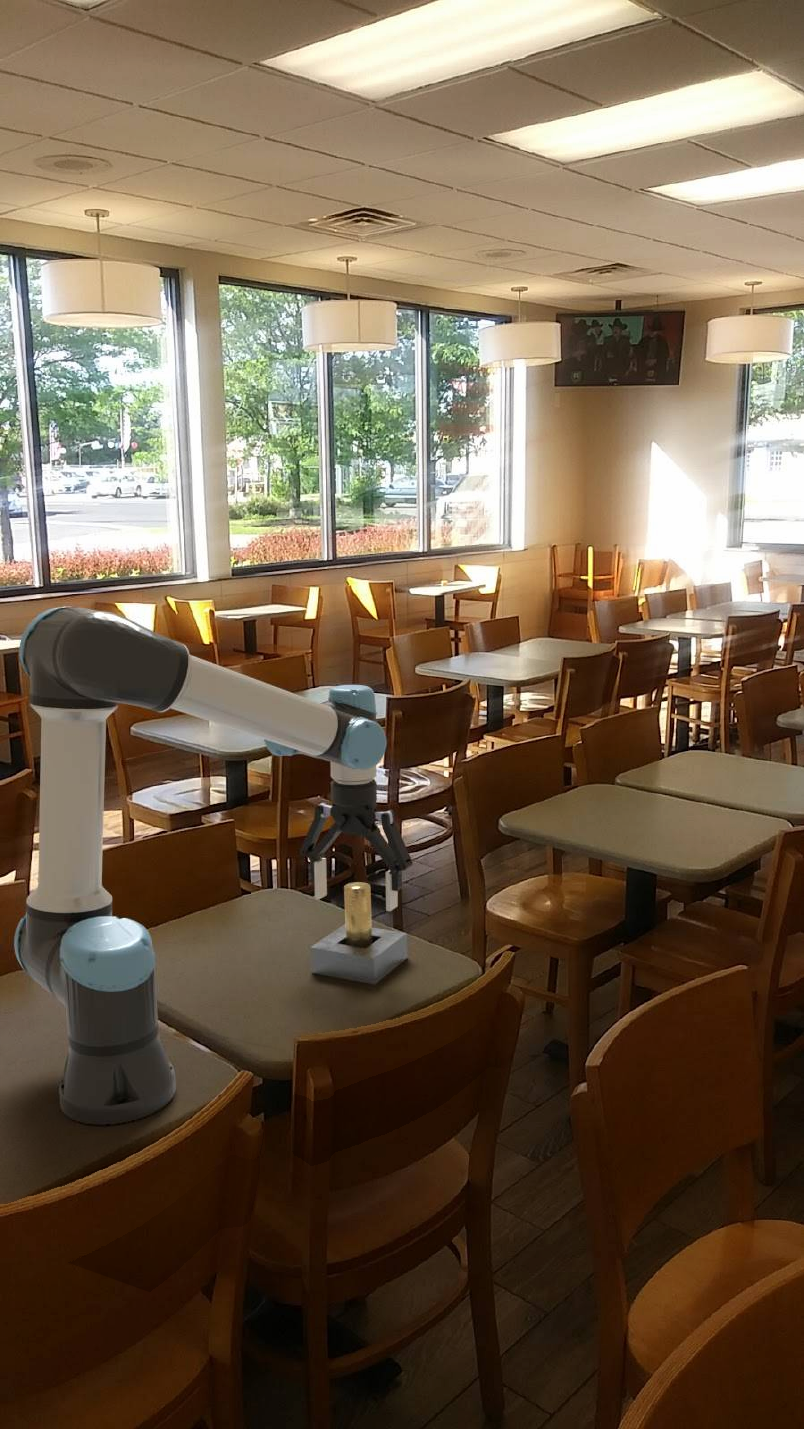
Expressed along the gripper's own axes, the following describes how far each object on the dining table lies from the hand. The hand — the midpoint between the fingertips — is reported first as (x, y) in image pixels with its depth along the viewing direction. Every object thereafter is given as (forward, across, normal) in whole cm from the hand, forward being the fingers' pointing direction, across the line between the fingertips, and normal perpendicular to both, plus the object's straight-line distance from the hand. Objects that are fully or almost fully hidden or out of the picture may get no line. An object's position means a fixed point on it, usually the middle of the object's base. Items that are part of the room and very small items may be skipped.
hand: (355, 902), depth 192 cm
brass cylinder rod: (+11, 0, -1) cm, 11 cm away
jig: (+11, 0, -1) cm, 11 cm away
